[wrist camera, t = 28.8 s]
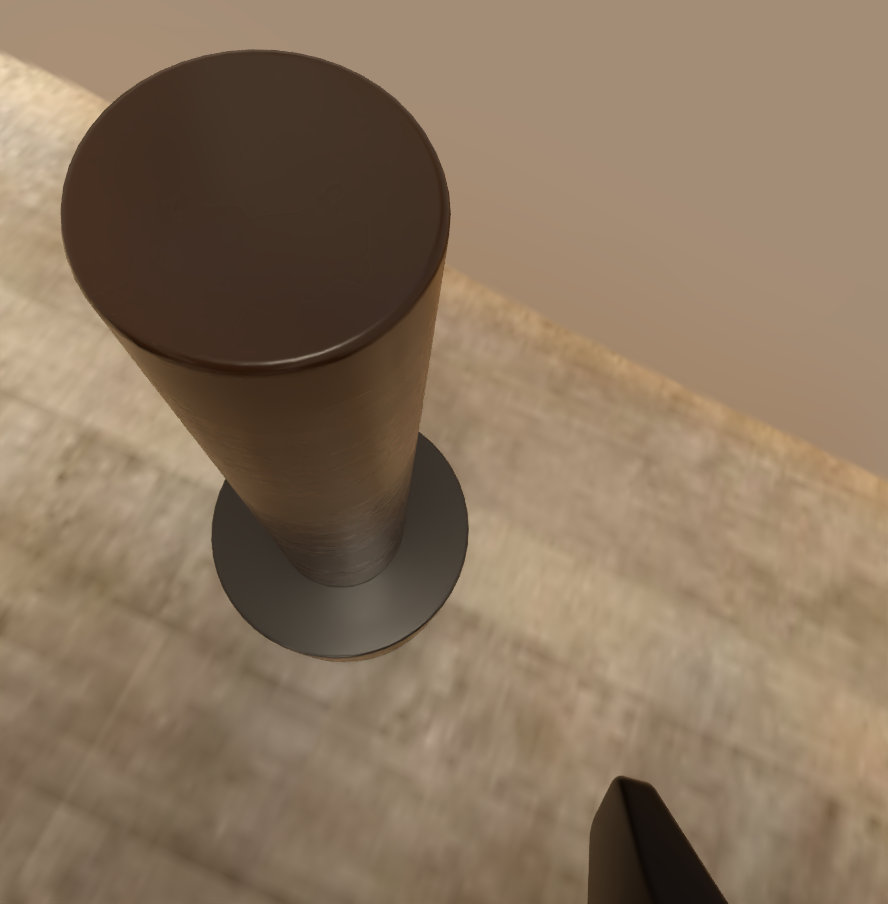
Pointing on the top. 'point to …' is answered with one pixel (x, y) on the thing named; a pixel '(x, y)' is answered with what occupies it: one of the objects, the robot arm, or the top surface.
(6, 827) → the top surface
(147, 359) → the brown handled tamper
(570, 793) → the top surface
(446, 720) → the top surface
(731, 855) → the top surface
